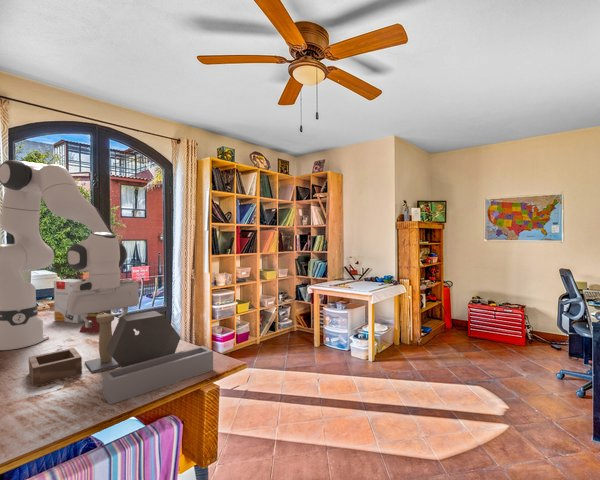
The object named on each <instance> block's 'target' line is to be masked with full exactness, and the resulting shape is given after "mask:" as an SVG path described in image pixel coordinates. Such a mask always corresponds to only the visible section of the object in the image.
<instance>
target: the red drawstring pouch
mask: <svg viewBox="0 0 600 480" xmlns="http://www.w3.org/2000/svg"><path fill="white" fill-rule="evenodd" d="M101 314H105V311H101V312H94V313H88V317H85V318H86V319H87V320H88V321H92V324H91V325H92V327H88V328H86V327H85V321H83V322H84V324H83V325H82V326H81V327H80V330H79V333H99V332H100V324H99V323H98V322H97V321H96V316H97V315H101Z"/></svg>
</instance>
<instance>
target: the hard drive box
mask: <svg viewBox="0 0 600 480" xmlns="http://www.w3.org/2000/svg"><path fill="white" fill-rule="evenodd" d="M79 280H80V279H77V278H64V279H56V280H53V301H54V302H53V310H54V313H53V314H54V321H56V322H65V323H72V324H73V323H74V324H81V323H83V322H85V321H84V320H83V319H82V317H81V315H74V316H71V315H70V314H68V313H67V301H68V296H69V294H70V292H71V291H73V289H72V287H71V285H72V283H74V282H76V281H79Z"/></svg>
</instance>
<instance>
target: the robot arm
mask: <svg viewBox="0 0 600 480" xmlns="http://www.w3.org/2000/svg"><path fill="white" fill-rule="evenodd" d="M0 184H1V185H2V187H4V188H5V191H4V195H3V198H2V206H1V215H0V227H1V229H2V230H3V231H4V232H6V233H8V234H10V235H12V236H13V238H14V243H2V244H0V351H9V350H10V351H11V350H17V349H22V348H26V347H30V346H33V345H36V344H38V343H41V342H43V341H45V340H46V341H47V340H48V339H50V335H47V334H45V333H44V322H43V318H41V317H39V316H38V314H39V308H38V305H37V293H36V292H37V291H36V286H35V284H33V283H31V282H29V281H26V280H24V279H23V278H22V275H21V272H30V271H31V272H32V271H38V270H41V269H45V268H48V267H50V266H51V265H52V264H53V262H54V259H55V253H54V249H52V247H50V246H49V245H48V244H47V243H45V241H44V240H43V238H42V236H41V232H40V216H41V215H40V214H41V201H42V199H43V202H44V204H45V206H46V208H47V210H49V212H51V213H52V214H54V215H55V216H57V217H59V218H63V219H66V220H69V221H70V220H71V221H74V222H77V223H79V224H82V225H84V226H86V227H87V228H88V229H89V230H90V231H91V232H92V233H90V234H89V236H88V237H87V238H86V239H84V240H82V241H80V242H77V243H73V244H72V245H71V246H70V247H69V248H68V249H67V251H66V255H65V256H66V257H65V258H66V263H67V265H68V266H69V267H70V268H71V269H73V270H74V271H77V272H84V271H85V272H86V271H87V272H88V277H85V278H82V279H78V280H79V281H76V282H74V283H72V285H71V287H72V289H73V291H71V292H70V294H69V296H68V301H67V313H68V314H70V315H71V316H74V315H81V317H82V319H83V320H84V321H83V322H85V327H86V328H88V327H92V325H91V324H92V321H88V320H87V319H86V318H85V317H88V313H94V312H101V311H104V312H107V311H113V310H119V309H121V311H122V312H121V314H120V315H118V316H117V317H118V319H117V321H119V319H120V317H121V316H126V315H127V313H128V312H129V308H132V307H134V308H135V307H137V306H138V305H139V304H140V295H139V291H140V290H139V289H140V284H139V281H137V280H135V279H132V278H130V279H121V270H120V268H121V267H122V266H123V265H124V264H125V262H126V261H127V257H128V251H127V249H126V247H125V245H124V244H123V243H122V242H121V241H120V240H119V239H118V236H117V235H116V234H115V233H114V231H113V230H112V229H111V227H110V226H109V224H108V222H107V220H106V219H105V218H104V216H103V214H102V213H101V212H100V210H99V209H98V207H96V206H94V205H93V204H92V203H91V202H89V200H88V199H86V197H85V196H84V195H83V193H82V192H81V190H80V188H79V186H78V184H77V182H76V180H75V178H74V177H73V175H72V174H71V173H70V171H69V169H67V168H66V167H65V166H63V165H60V164H56V163H55V164H54V163H53V164H45V163H40V162H39V163H38V162H29V161H21V160H18V159H13V160H12V159H8V160H4V162H2V163H1V164H0Z"/></svg>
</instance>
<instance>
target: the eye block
mask: <svg viewBox="0 0 600 480" xmlns="http://www.w3.org/2000/svg"><path fill="white" fill-rule="evenodd" d="M82 359H83V357H82V355H81V354H80V353H79V352H78V351H77V350H76V348H75V347H72V348H71V347H70V348H67V349H62V350H57V351H51V352H47V353H43V354H37V355H33V356H28V374H29V378H30V380H31V383H32V386H33V387H34V386H38V385H42V384H46V383H49V382H53V381H57V380H61V379H65V378H68V377H74V376H77V375H81V374H83V363H82V362H83V361H82Z"/></svg>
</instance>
